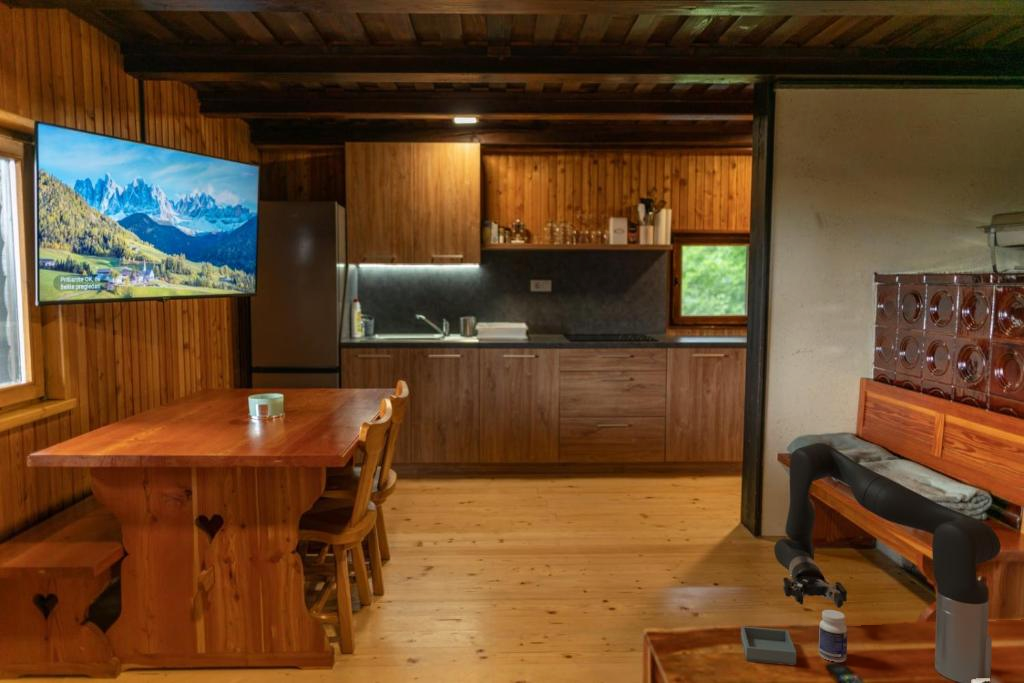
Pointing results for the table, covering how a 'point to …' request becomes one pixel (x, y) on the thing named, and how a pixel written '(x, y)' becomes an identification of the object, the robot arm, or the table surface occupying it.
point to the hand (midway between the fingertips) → (820, 602)
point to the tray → (768, 645)
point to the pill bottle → (833, 636)
